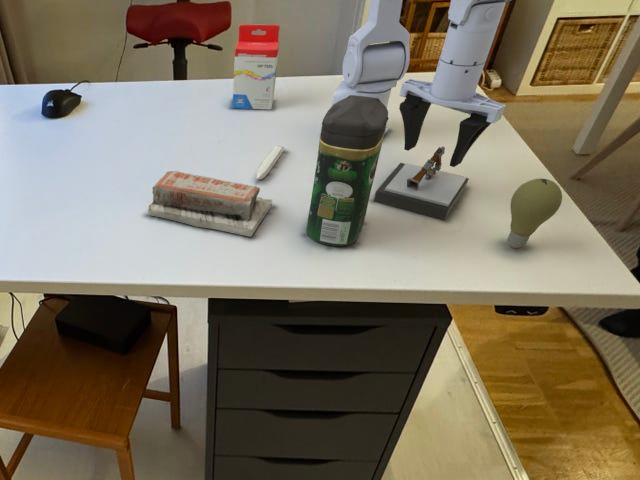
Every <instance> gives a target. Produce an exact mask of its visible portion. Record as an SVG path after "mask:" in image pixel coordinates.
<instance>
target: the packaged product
mask: <svg viewBox="0 0 640 480" xmlns="http://www.w3.org/2000/svg"><path fill="white" fill-rule="evenodd" d="M260 191H261V188H260V187H258V186H254V185H249V184H244V183H239V182H234V181H228V180H224V179H223V180H222V179H217V178H213V177H209V176H208V177H207V176H203V175H199V174H193V173H187V172H181V171H177V170H170V171H169V170H168V171H166V172H165V174H164V175H163V176H162V177H161V178H159V180H157V182H155V184H154V185H153V186H152V192H151V193H152V194H153V196H152V202H151V203H150V204H149V205H148V208H147V214H148V216H152V217H157V218H162V219H166V220H170V221H173V222H179V223H183V224H186V225H189V226H193V227H196V228H202V229H211V230H217V231H221V232H227V233H231V234H236V235H241V236H245V237H250V238H252V236H253V234H254V233H255V232H256V230H257V229H258V228H259V226H260V224H261V223H262V221H263V220H264V218H265V217H266V215H267V214H268V213H269V210H270V209H271V207H272V204H273V199H271V198H263V197H261V196H259V194H260Z"/></svg>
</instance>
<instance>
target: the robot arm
mask: <svg viewBox="0 0 640 480" xmlns="http://www.w3.org/2000/svg"><path fill="white" fill-rule="evenodd" d="M403 1H404V0H369V3H368V4H369V5H368V11H367V12H368V13H367V20H366V22H365V24H363V25H362V26H361V27H360V28H358V29H357V30H356V31H355V32H353V34H351V35H350V36H349V38H348V42H347V48H346V51H345V52H346V53H345V54H344V56H343V59H342V77H343V80H341V81H340V82H339V84H338V85H337V87H336V89H335V92H334V94H333V98H332V103H331V107H332V106H333V105H334V104H335V103H337V102H338V101H340V100H342V99H345V98H347V97H348V96H349V95H356V96H365V97H373V98H378V99H379V100H380V101H381V102H382V103H383V104H384V105H385V107H386V108H387V109H388V105H389V102H390V97H391V92H392V89H393V88H396V87H397V84H398V81H401V80H402V79H403V78H404V77H405V75H406V73H407V71H408V69H409V66H410V60H411V53H410V40H411V34H410V32H409V31H408V30H407V29H406V28H405V27H404V26H403V25H402V24H401V23H400V19H401V12H402V7H403ZM511 1H512V0H450V4H449V8H448V13H447V14H448V15H447V19H448V20H449V25H448V28H447V31H446V35H445V38H444V42H443V45H442V49H441V52H440V56H439V59H438V63H437V66H436V70H435V72H434V76H433V80H432V82H431V81H424V80H418V79H417V80H416V79H412V78H409V79H407V80H405V81H403V82H402V83H401V86H400V91H399V97H402V98H405V99H404V100H403V101H402V102H400V104H399V108H398V109H399V112H400V114H401V119H402V122H403V131H404V149H403V150H404V151H410V150H412V149H413V148H415V147H416V146H417V144H418V142H419V138H420V135H421V133H422V132H421V131H422V128H423V124H424V122H425V119H426V117H427V114H428V112H429V110H430V107H431V105H432V104H433V105H436V106H440V107H442V108H446V109H450V110H453V111H457V112H460V113H463V114H467V115H469V117H466V118H465V119H462V120H461V121H460V122H459V125H458V135H457V138H456V139H457V141H456V144H455V147H454V150H453V152H452V155H451V159H450V162H449V166H450V167H452V168H455V167H457V166H458V165H460V164H461V163H462V162H463V160H464V159H465V157H466V155H467V153H468V152H469V150H470V149H471V147H472V146H473V145H474V143H475V142H476V141H477V139H478V138H479V137H481V135H482V134H483V133H484V132H485V131H486V129H488V127H490V125H491V124H495V123H497V122H499V121H500V120H501V119H502V116H503V114H504V112H505V110H506V106H507V105H506V104H504V103H501V102H498V101H496V100H493V99H491V98H489V97H488V96H484V95H483V94H481V93H479V92H476V90H477V88H478V85H479V82H480V79H481V76H482V73H483V70H484V68H485V65H486V63H487V62H486V61H487V59H488V57H489V54H490V50H491V47H492V45H493V42H494V40H495V37H496V36H495V35H496V33H497V30H498V27H499V25H500V22H501V18H502V16H503V13H504V10H505V7H506V4H507V3H510V2H511ZM389 130H390V129H389V127H387V126H386V129H385V133H384V135H386V133H388V131H389Z"/></svg>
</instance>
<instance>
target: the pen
mask: <svg viewBox="0 0 640 480" xmlns="http://www.w3.org/2000/svg"><path fill="white" fill-rule="evenodd" d="M284 150H285V147H284V145H282V144H277V145H275V146H274V147H273V149H271V151H270V153H268V155H267V156H266V158H265V159H264V161H263V162H262V164H261V165H260V166H259V168H258V169H257V171H256V174H255V178H256V180H262V179H264V178H265V177H266V176H267V175H268V174H269V172H270V171H272V169H273V168H274V166H275V164H276V163H277V161H278V160H279V159H280V157H281V156H282V154H283V152H284Z"/></svg>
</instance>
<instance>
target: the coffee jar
mask: <svg viewBox="0 0 640 480" xmlns="http://www.w3.org/2000/svg"><path fill="white" fill-rule="evenodd" d="M389 119H390V117H389V110H388V107H387V108H386V107H385V105H384V104H383V103H382V102H381V101H380V100H379V99H378V98H373V97H365V96H356V95H349V96H348V97H347V98H345V99H342V100H340V101H338V102H337V103H335V104H334V105H333V106H332V105H331V106H330V107H329V109H328V110H327V112H326V113H325V114H324V117H323V119H322V123H321V129H320V134H319V140H318V151H317V158H316V166H315V172H314V177H313V186H312V191H311V198H310V205H309V210H308V215H307V216H308V217H307V222H306V227H305V228H306V229H305V232H306V235H307V236H308V237H309V238H310V239H311V240H314V241H316V242H317V243H318V244H319V243H320V244H323V245H326V246H332V247H333V246H334V247H337V246H338V247H339V246H349V245H352V243H354V242H355V241H357V238H358V237H359V235H361V232H362V230H363V228H364V224H365V219H366V215H367V211H368V206H369V201H370V196H371V192H372V188H373V184H374V180H375V176H376V171H377V167H378V163H379V158H380V154H381V151H382V145H383V141H384V136H385V134H386V133H385V129H386V127H387V125H388V121H389ZM384 133H385V134H384Z"/></svg>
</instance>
